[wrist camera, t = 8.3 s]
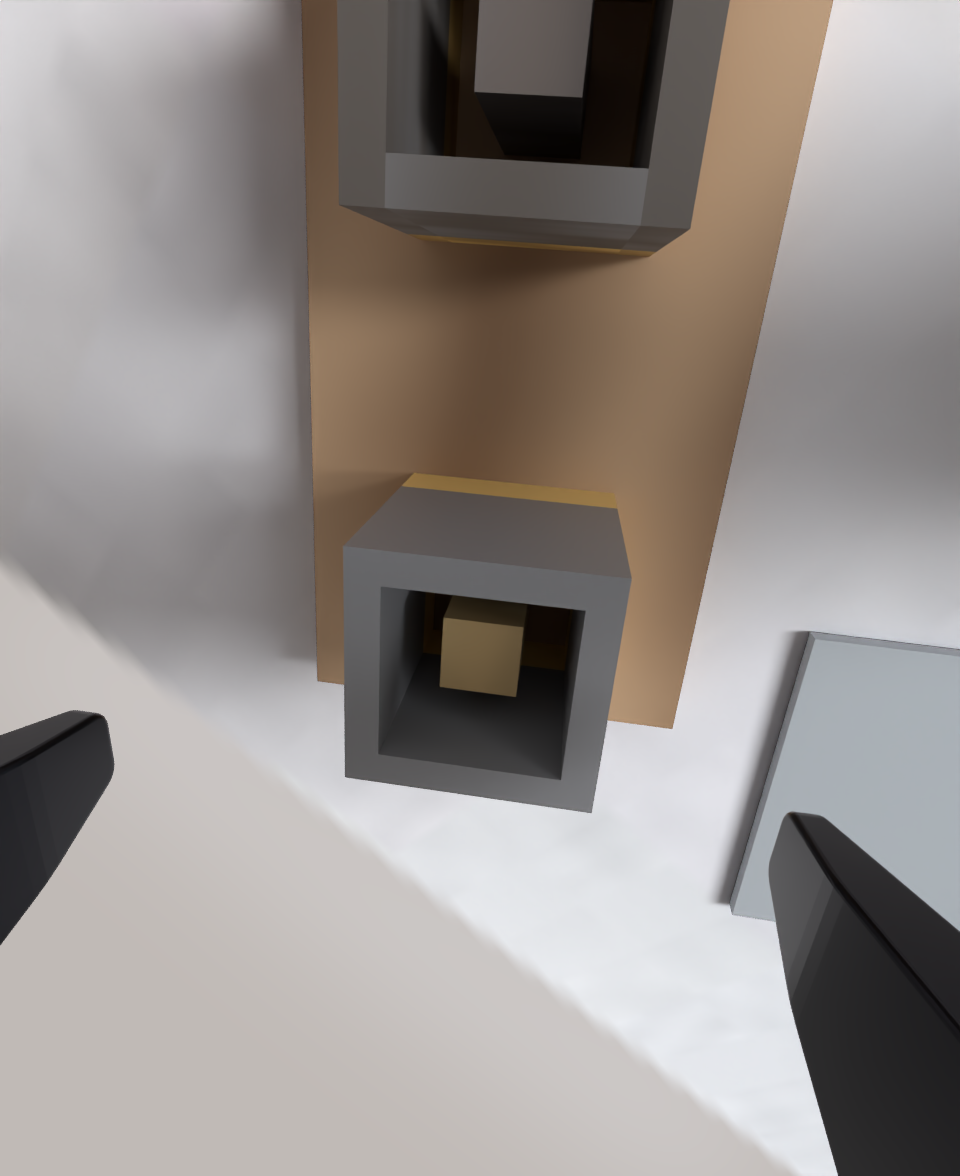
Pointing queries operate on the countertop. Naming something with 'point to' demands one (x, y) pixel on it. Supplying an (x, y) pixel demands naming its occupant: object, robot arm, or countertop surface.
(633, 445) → the pin board
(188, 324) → the countertop surface
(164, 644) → the countertop surface
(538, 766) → the sleeve
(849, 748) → the mat
